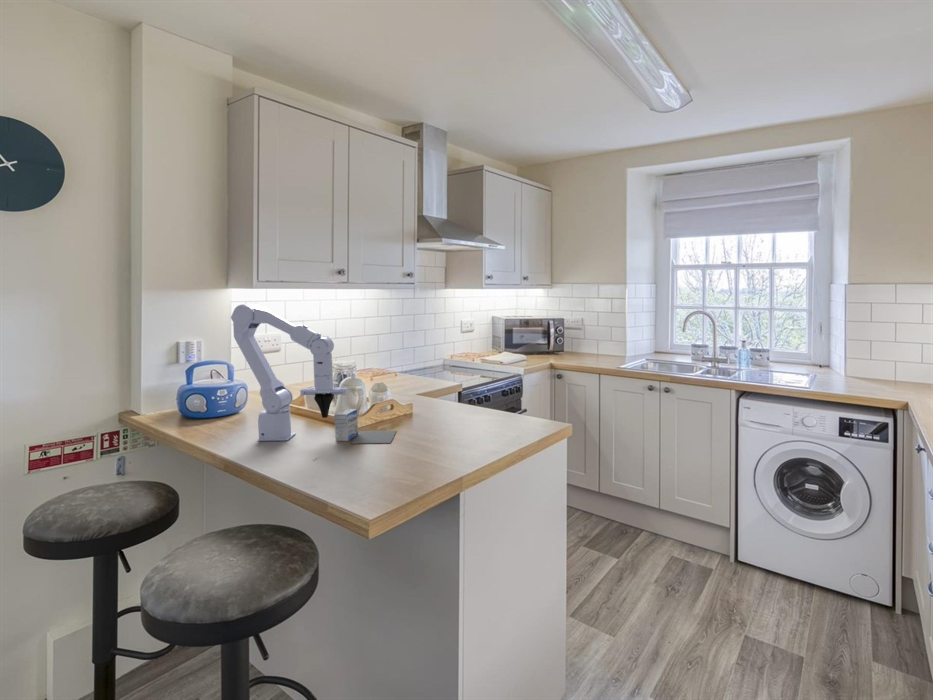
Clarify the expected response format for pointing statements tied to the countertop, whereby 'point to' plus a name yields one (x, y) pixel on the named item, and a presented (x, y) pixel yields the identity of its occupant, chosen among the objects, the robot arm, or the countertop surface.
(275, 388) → the robot arm
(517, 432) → the countertop surface
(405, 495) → the countertop surface
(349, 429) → the medicine box
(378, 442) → the mat
